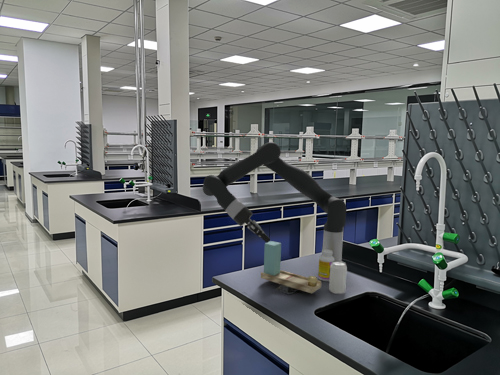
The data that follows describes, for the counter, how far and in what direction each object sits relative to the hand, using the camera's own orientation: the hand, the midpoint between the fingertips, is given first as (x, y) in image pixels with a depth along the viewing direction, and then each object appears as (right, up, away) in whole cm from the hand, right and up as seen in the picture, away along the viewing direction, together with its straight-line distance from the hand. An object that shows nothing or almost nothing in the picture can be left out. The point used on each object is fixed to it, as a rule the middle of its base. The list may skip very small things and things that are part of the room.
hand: (268, 241), depth 149 cm
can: (+28, -20, -2) cm, 34 cm away
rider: (+2, -14, +5) cm, 15 cm away
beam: (+9, -17, 0) cm, 19 cm away
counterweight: (+17, -16, -6) cm, 24 cm away
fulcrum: (+9, -19, 0) cm, 21 cm away
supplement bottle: (+26, -18, +11) cm, 33 cm away
